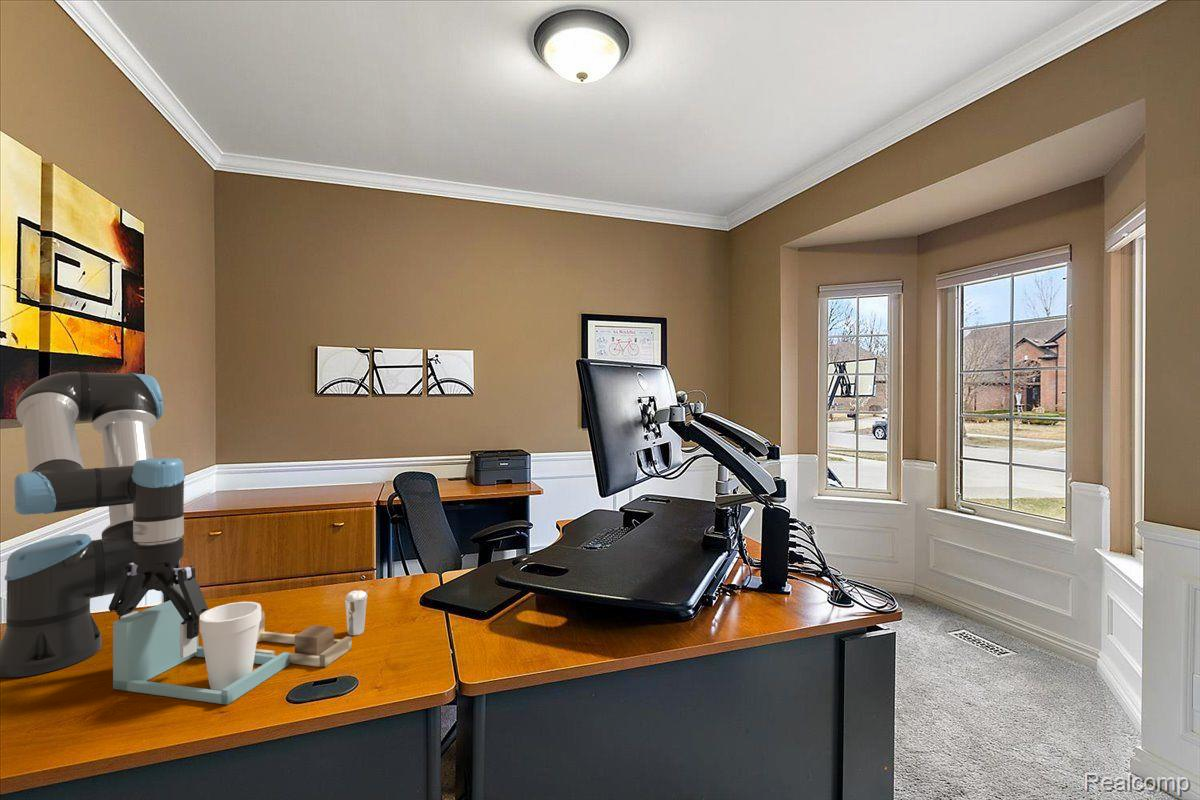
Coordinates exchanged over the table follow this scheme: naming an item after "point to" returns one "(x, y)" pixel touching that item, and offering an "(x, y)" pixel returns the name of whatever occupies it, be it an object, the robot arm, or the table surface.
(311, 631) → the walnut block
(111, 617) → the table surface
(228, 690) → the teal frame with backboard
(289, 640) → the slat
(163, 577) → the robot arm
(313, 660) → the slat
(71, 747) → the table surface
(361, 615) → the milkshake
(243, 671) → the foam cup
